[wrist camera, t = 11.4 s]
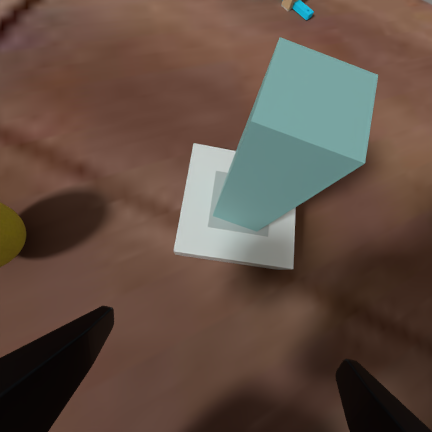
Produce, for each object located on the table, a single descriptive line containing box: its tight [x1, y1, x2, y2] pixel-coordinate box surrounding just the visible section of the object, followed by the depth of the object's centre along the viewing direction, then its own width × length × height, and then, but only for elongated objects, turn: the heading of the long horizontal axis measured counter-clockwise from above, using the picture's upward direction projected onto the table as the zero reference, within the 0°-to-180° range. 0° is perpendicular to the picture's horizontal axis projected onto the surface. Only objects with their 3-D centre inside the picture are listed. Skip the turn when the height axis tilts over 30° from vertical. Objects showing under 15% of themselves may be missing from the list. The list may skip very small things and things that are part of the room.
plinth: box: [174, 143, 296, 270], centre depth 21 cm, size 10×10×3 cm
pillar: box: [213, 38, 378, 232], centre depth 14 cm, size 4×4×12 cm
